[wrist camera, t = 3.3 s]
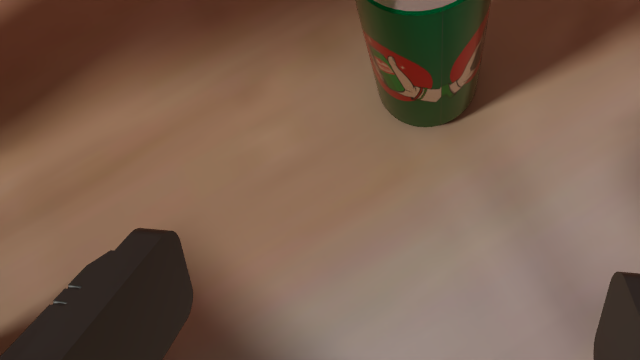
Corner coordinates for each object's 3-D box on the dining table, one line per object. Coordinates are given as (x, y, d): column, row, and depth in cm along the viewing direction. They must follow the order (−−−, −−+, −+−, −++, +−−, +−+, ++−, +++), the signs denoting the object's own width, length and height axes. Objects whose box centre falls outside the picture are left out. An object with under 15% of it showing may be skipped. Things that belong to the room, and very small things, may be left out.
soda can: (459, 31, 28) (474, -165, 17) (488, 114, 26) (528, -38, 15) (369, 60, 29) (325, -109, 17) (393, 142, 27) (361, 16, 16)
